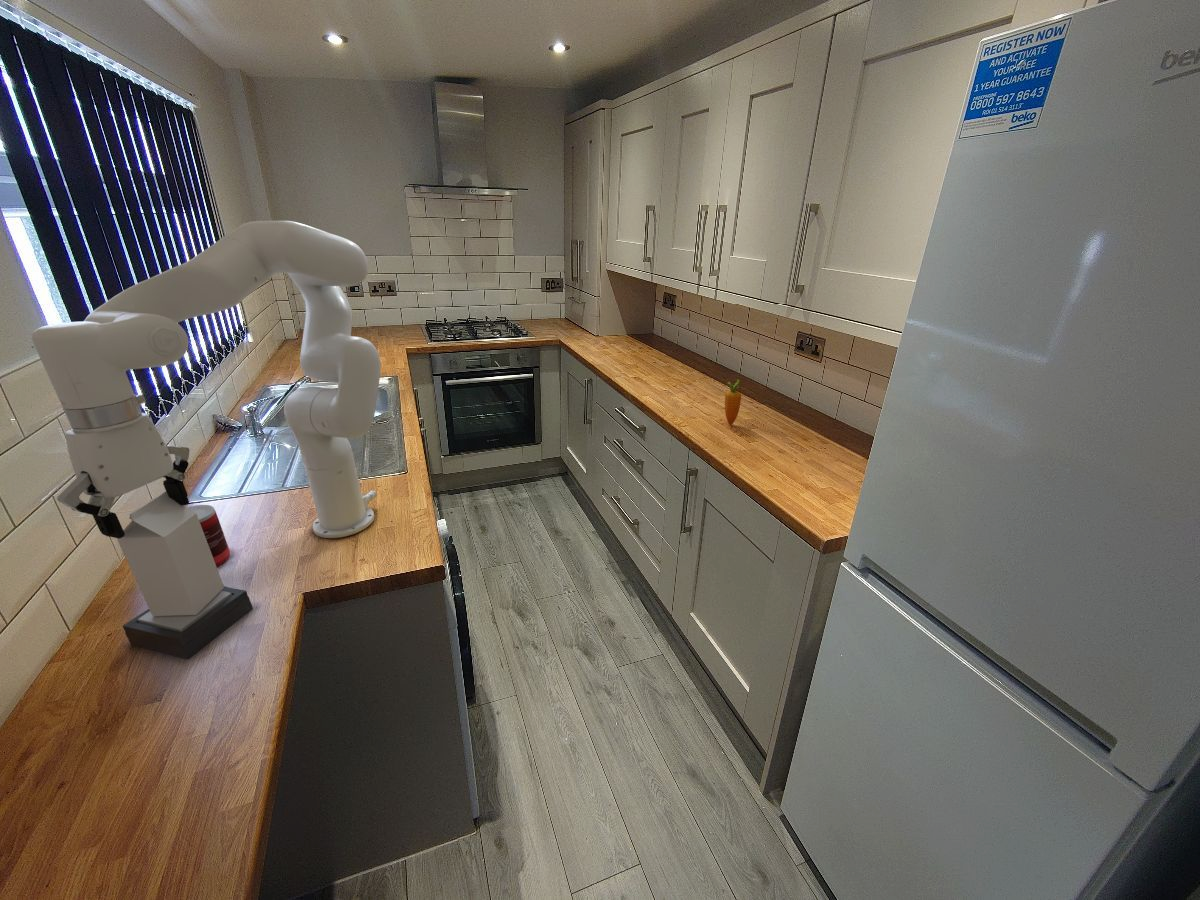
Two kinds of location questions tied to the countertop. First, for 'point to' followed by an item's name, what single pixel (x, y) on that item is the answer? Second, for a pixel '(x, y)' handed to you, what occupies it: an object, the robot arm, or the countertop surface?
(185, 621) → the scale pan
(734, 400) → the carrot
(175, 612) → the milk carton
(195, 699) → the countertop surface
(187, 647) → the scale
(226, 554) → the canned food
